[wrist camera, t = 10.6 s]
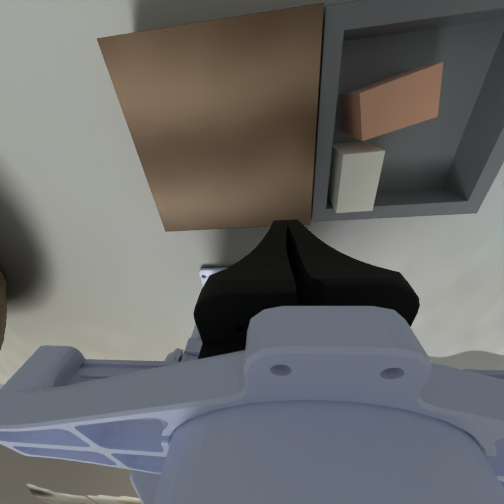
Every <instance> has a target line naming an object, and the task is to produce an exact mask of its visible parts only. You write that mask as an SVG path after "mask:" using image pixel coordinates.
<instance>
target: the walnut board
mask: <svg viewBox="0 0 504 504" xmlns="http://www.w3.org/2000/svg"><path fill="white" fill-rule="evenodd" d="M323 10H324V3H319V4H313V5H307V6H300V7H294V8H287V9H281V10H275V11H268V12H262V13H256V14H249V15H243V16H237V17H230V18H224V19H218V20H211V21H205V22H198V23H192V24H186V25H179V26H173V27H167V28H160V29H154V30H148V31H141V32H135V33H129V34H122V35H116V36H109V37H103V38H97V41H98V43H99V46H100V49H101V52H102V55H103V57H104V60H105V63H106V66H107V69H108V71H109V74H110V77H111V80H112V83H113V85H114V88H115V91H116V94H117V97H118V99H119V102H120V105H121V108H122V111H123V113H124V116H125V119H126V122H127V125H128V127H129V130H130V133H131V136H132V139H133V142H134V144H135V147H136V150H137V153H138V156H139V158H140V161H141V164H142V167H143V170H144V172H145V175H146V178H147V181H148V184H149V186H150V189H151V192H152V195H153V198H154V200H155V203H156V206H157V209H158V212H159V214H160V217H161V220H162V223H163V226H164V228H165V231H166V232H167V231H187V230H208V229H228V228H249V227H269V226H271V225H272V222H273V221H274V220H293V219H298V220H299V221H300V222H301V223H302V224H303V225H310V221H311V205H312V188H313V172H314V156H315V140H316V123H317V107H318V91H319V75H320V59H321V42H322V26H323Z"/></svg>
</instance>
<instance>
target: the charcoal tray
mask: <svg viewBox="0 0 504 504" xmlns="http://www.w3.org/2000/svg"><path fill="white" fill-rule="evenodd" d="M441 62H443V70H442V80H441V89H440V99H439V108H438V117H435V118H432V119H429V120H426V121H423V122H420V123H417V124H414V125H411V126H407V127H404V128H401V129H398V130H395V131H392V132H389V133H386V134H383V135H380V136H377V137H374V138H370V139H367V140H364V141H365V142H367V143H369V144H371V145H374V146H376V147H378V148H380V149H383V150H385V155H384V159H383V164H382V169H381V173H380V178H379V183H378V187H377V192H376V197H375V201H374V206H373V211H361V212H346V213H336V212H335V210H334V208H333V206H332V205H331V203H330V201H329V199H328V198H327V193H328V183H329V174H330V164H331V154H332V144H337V143H346V142H356V141H361V140H359V139H357V138H354V137H352V136H350V135H348V134H346V133H344V123H343V112H342V102H341V94H344V93H346V92H349V91H351V90H354V89H357V88H359V87H362V86H365V85H367V84H370V83H373V82H375V81H378V80H380V79H383V78H386V77H388V76H391V75H394V74H396V73H399V72H402V71H404V70H409V69H413V68H418V67H422V66H427V65H432V64H436V63H441ZM503 162H504V0H359V1H353V2H347V3H340V4H334V5H327V6H326V7H325V8H324V10H323V26H322V42H321V59H320V75H319V91H318V107H317V123H316V140H315V156H314V172H313V188H312V205H311V220H312V221H331V220H351V219H371V218H391V217H411V216H430V215H450V214H470V213H477V212H478V210H479V208H480V206H481V204H482V202H483V200H484V198H485V196H486V194H487V193H488V191H489V189H490V187H491V185H492V183H493V181H494V179H495V177H496V175H497V173H498V171H499V169H500V167H501V166H502V164H503Z"/></svg>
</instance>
